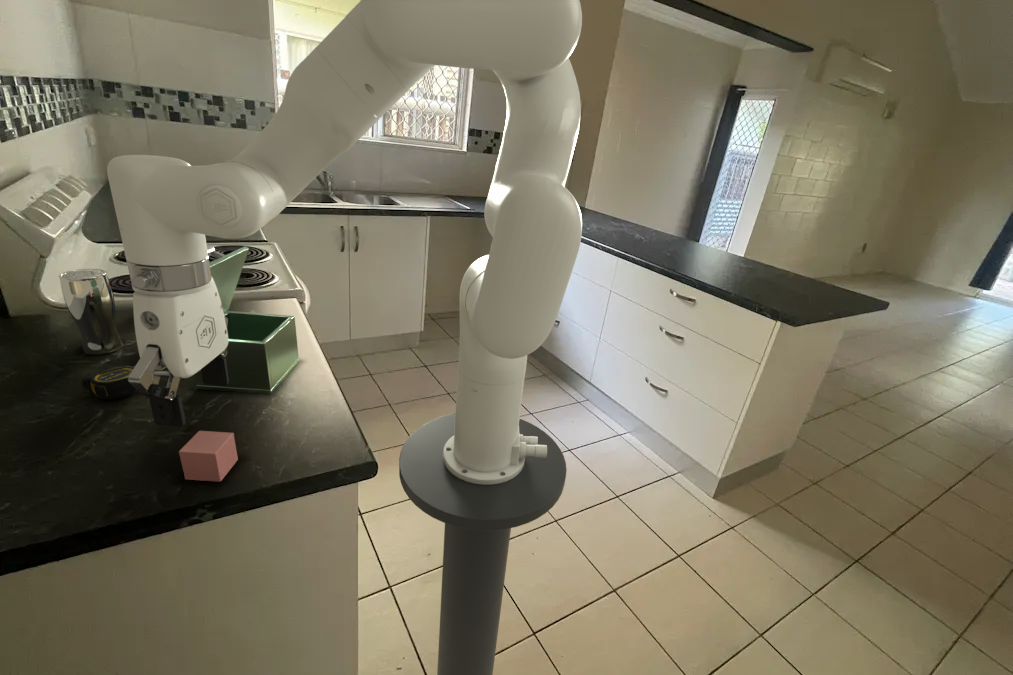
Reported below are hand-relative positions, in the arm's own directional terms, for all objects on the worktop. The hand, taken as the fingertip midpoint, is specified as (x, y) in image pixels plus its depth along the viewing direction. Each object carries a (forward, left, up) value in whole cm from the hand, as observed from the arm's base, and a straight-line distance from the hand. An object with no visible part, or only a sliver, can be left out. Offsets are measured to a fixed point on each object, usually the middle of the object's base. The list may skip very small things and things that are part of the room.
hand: (195, 402), depth 60 cm
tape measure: (+25, -17, -11) cm, 32 cm away
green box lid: (+10, -26, +6) cm, 28 cm away
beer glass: (+38, -32, -11) cm, 51 cm away
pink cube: (0, 0, -11) cm, 11 cm away
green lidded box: (+7, -26, -11) cm, 29 cm away
